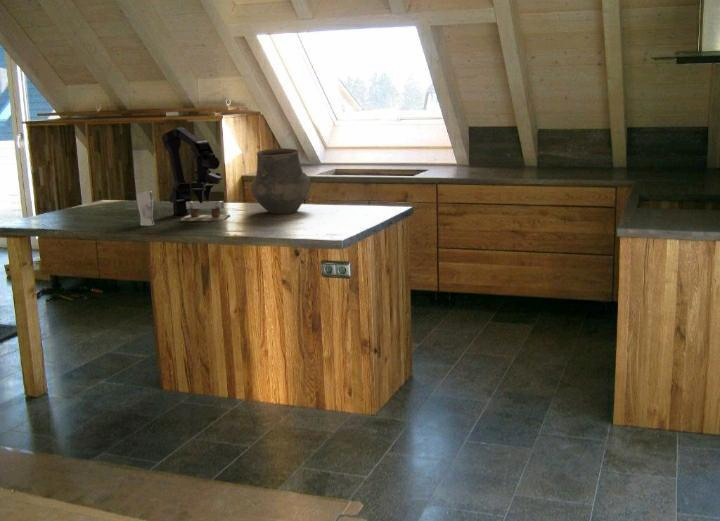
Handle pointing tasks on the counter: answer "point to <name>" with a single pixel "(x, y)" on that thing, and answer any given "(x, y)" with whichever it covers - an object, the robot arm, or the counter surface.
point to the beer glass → (145, 207)
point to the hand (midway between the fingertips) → (204, 201)
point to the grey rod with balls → (205, 205)
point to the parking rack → (205, 216)
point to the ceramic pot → (280, 181)
